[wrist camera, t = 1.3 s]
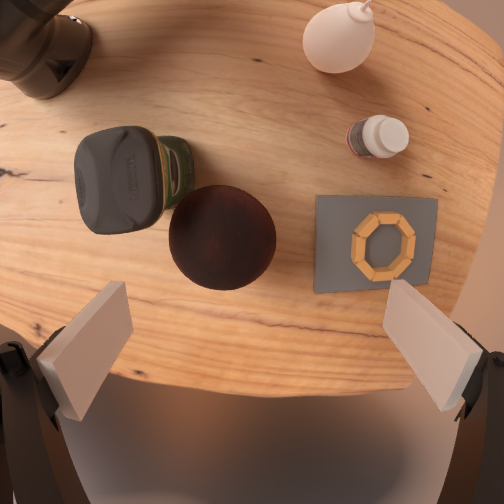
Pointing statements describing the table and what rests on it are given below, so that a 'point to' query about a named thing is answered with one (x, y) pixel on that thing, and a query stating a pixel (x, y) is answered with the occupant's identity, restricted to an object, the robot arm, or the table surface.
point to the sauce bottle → (340, 37)
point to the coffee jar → (130, 178)
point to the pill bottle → (377, 137)
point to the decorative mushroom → (221, 237)
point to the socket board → (372, 241)
